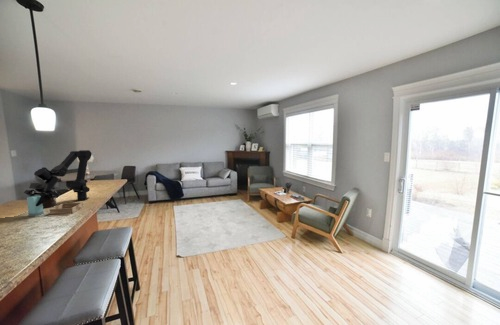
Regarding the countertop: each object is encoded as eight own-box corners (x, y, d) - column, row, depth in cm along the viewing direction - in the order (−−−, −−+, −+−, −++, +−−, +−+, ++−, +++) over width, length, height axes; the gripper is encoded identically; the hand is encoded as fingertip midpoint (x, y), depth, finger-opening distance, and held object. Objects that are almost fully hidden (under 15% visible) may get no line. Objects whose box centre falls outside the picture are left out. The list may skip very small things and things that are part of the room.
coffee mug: (49, 208, 141) (48, 194, 140) (37, 208, 141) (35, 194, 140) (65, 203, 152) (63, 190, 151) (53, 203, 152) (52, 190, 151)
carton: (65, 207, 144) (65, 202, 144) (85, 205, 147) (85, 201, 146) (46, 216, 127) (45, 211, 126) (69, 215, 129) (68, 209, 129)
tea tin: (37, 213, 131) (34, 195, 130) (43, 214, 131) (41, 195, 130) (28, 216, 127) (26, 197, 125) (35, 216, 126) (33, 197, 125)
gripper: (25, 177, 131) (6, 199, 121) (52, 177, 129) (35, 200, 120) (40, 186, 139) (23, 207, 130) (65, 187, 138) (50, 208, 129)
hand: (32, 205), depth 127 cm, fingers closed on tea tin, 4 cm apart
